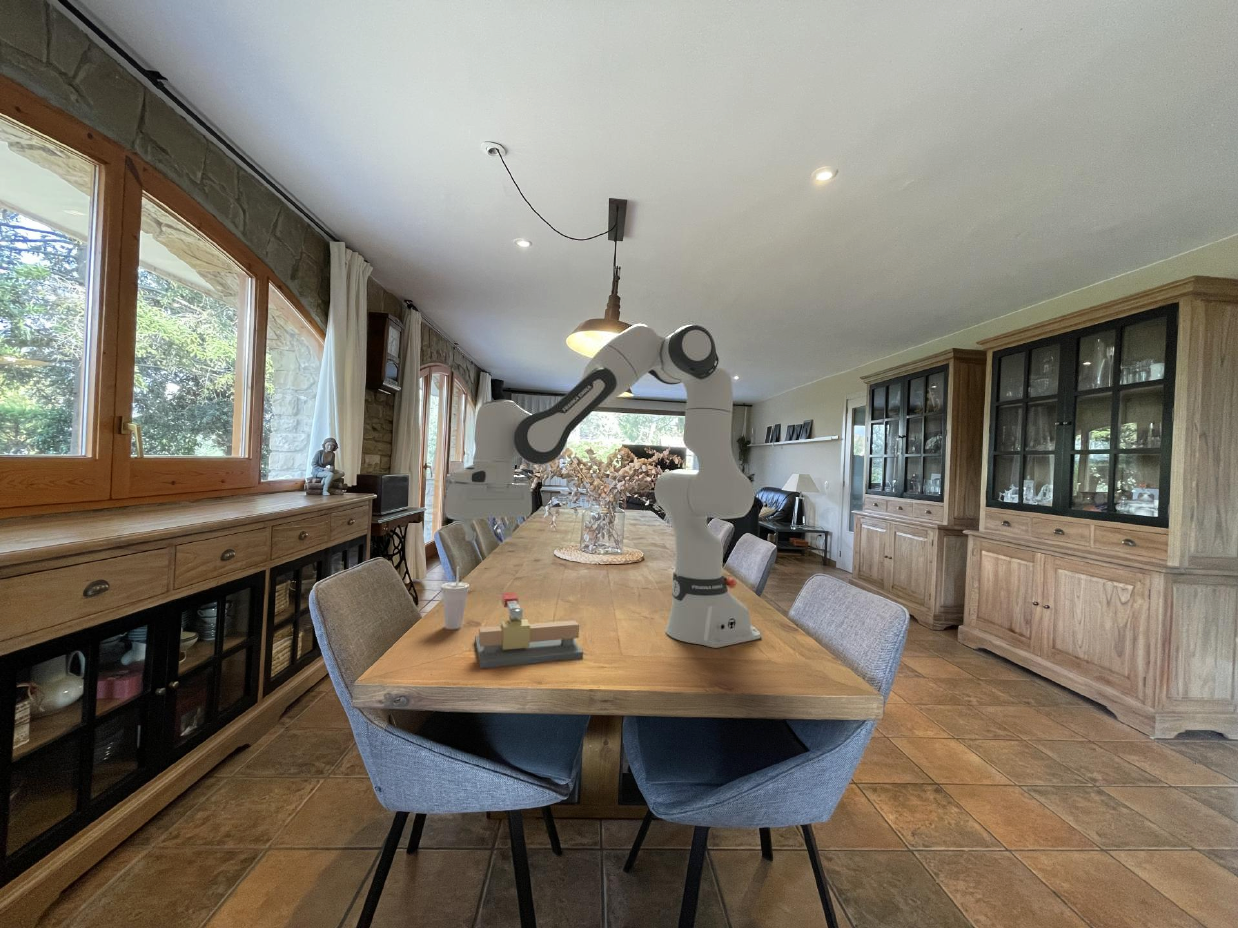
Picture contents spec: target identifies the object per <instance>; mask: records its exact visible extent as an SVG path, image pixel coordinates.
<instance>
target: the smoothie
mask: <svg viewBox="0 0 1238 928" xmlns="http://www.w3.org/2000/svg"><path fill="white" fill-rule="evenodd" d="M469 590H470V584H469V583H467V582H463V581H460V566H456V579H455V581H451V582H446V583H443V584H441V585H440V592H441V596H442V597H441V598H442V608H443V619H444V628H445V629H446V630H458V629H460V628H462V626H463V620H464V616H465V615H464V613H465V609H466V602H467V598H468V591H469Z"/></svg>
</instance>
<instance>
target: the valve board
mask: <svg viewBox="0 0 1238 928" xmlns="http://www.w3.org/2000/svg"><path fill="white" fill-rule="evenodd" d="M579 635H580V624H579V622H577V620H563V621H550V622H537V623H536V622H535V623H530V622H529V621H528V619H527V618H525V619H523V618H522V620H519V621H512V620H510V619H509V620H501V622H500V625H497V626H481V627H478V635H477V636H475V635H474V643H475V644H474V645H475V649H476V653H477V657H478V661H479V667H480V669H488V668H499V667H508V666H509V667H510V666H518V665H527V664H528V665H529V664H537V663H538V664H539V663H546V662H557V661H565V660H566V661H567V660H573V659H575V660H576V659H584V651H583V650H582V649H581V648H580V646H579V644H578V643H577V642H576V640H575V639H579V637H580V636H579Z"/></svg>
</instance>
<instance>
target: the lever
mask: <svg viewBox="0 0 1238 928" xmlns="http://www.w3.org/2000/svg"><path fill="white" fill-rule="evenodd" d="M500 601H501V604H502V606H503V607H504V609H505V608H507V610H508V612H509V616H508V617H509V618H508V619H509V620H512V621H519V620H523V615H524V614H523V613H524V610H523V608H521V607H520V605H519V597H518V596H517V594H516V593H515V592H514V591H513V592H501V599H500Z"/></svg>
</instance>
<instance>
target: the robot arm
mask: <svg viewBox="0 0 1238 928" xmlns="http://www.w3.org/2000/svg"><path fill="white" fill-rule="evenodd" d="M719 363H720V359H719V356H718V354H717V348H716V343H715V340H714V337H713V336H712V334H711V333H710V331H709V330H708V329H706V328H705V327H703V326H701V325H696V324H690V325H684V326H681V327H680V328H678V329H676V330H675V331H674V332H673V333H671V334H670V335H668V336H667V337H663V336H660V335H658V334H657V332H656V331H655V330H654V329H653V328H652V327H650V326H648V325H646V324H642V323H638V324H637V323H636V324H634V325H632V326H630V327H629V328H627V329H625V330H623V331H622V332H620V333H619V334H618V335H616V336H615V337H613V338H612V339H611V340H610V341H608V342H607V343H606V344H605V345H604V346H603V347H601V349H599V351H598V352H597V353H595V355H593V357H592V358H591V360H590V361H589V362H588V363H587V364H586V366H585V368H584V371H583V375H582V377H581V378H580V380H579V381H578V383H577V384H576V385H574V387H573V388H571V390H569V391H568V392H567V393H566V394H565V395H564V396H562V398H560V399H559V400H558V401H557V402H556V403H555V404H554V405H553V406H551V407H549V408H548V409H546V410H542V411H539V412H536V413H533V414H532V413H530V412H528V411H526V410H525V409H524V408H522V407H521V406H519V405H518V404H517V403H516V402H515V401H513V400H510V399H496V400H490V401H487V402H484V403H483V404H481V405H480V407H479V408H478V410H477V414H476V418H475V425H474V435H473V436H474V438H473V441H474V444H475V445H474V447H475V450H474V451H475V452H474V454H473V458H472V465H469V466H464V467H462V468H459V469H455V470H452V471H451V472H450V474H449V480H450V481H451V483H450V484H449V485H448V488H447V491H446V496H445V503H444V504H445V505H444V514H445V515H446V517H447V518H448V519H451V520H456V521H459V520H460V524H461V527H462V529H463V530H464V534H465V536H464V538H465V541H468V542H470V541H471V542H472V541H473V542H474V541H476V540H477V531H473V528H472V525H473V524H474V523H473V522H474V520H476V519H477V520H478V519H480V520H481V519H498V518H501V519H503V518H506V521H507V525H506V526H505V528H502V534H501V535H502V538H505V539H506V538H508V539H509V538H513V531H514V529H515V527H516V526H517V524H518V522H519V521H518V520H519V518H521V517H529V516H530V515H531V513H532V511H533V509H532V508H533V502H532V500H533V499H532V491H531V489H532V488H531V485H532V482H531V481H530V479H529V478H527V476H525V475H515V467H516V459H517V458H522V459H523V460H525V461H527V462H529V463H532V464H534V465H535V464H536V465H544V464H548V463H550V462H553V461H554V460H556V459H557V458H558V457H559V456H560V455H561V454H562V452H564V451H563V450H564V449H565V446H566V444H567V442H568V439H569V436H571V433H572V432H573V431H574V430H575V429H576V427H578V425H579V424H581V423H583V421H584V420H585V419H586V418H587V417H588V416H589V415H590V414H592V413H593V412H594V410H595V409H597V408H598V407H599V406H601V405H602V404H604V403H606V402H608V401H612V400H614V399H615V398H618V397H619V396H621V395H623V394H624V393H625V392H627V391H628V390H629V389H631V388H632V387H633V386H634V385H635V384H636V383H637V382H639V380H640V379H641V378H642V377H644V375H646V374H649V375H651V376H653V378H654V379H656V380H657V381H658V382H660V383H663V384H665V385H670V386H671V385H672V386H673V385H678V384H680V383H682V384H683V387H684V388H685V392H686V403H685V414H684V415H685V416H684V425H683V426H684V427H683V436H682V437H683V438H682V441H683V443H684V446H685V448H687V450H689V451H691V452H692V453H693V454H694V455H695V456H696V458H697V459H696V460H697V461H698V462H697V463H698V469H686V468H685V469H684V468H679V469H674V470H668V471H664V472H662V473H661V474H660V475H659V476H658V478H657V479H656V482H655V485H654V490H653V491H654V497H655V501H656V502H657V504H658V506H659V507H660V508H661V509H662V510H663V511H664V513H665V514H666V515H667V518H668V519H669V523H670V525H671V528H672V531H673V535H674V545H675V550H674V551H675V552H674V553H675V554H674V555H675V557H674V558H675V559H674V562H675V564H674V565H675V566H674V571H673V574H672V585H671V587H672V588H671V592H672V594H671V595H672V603H671V607H670V614H669V617H668V620H667V624H666V626H665V633H666V634H667V635H668V636H669V637H671V638H673V639H675V640H678V641H681V642H685V643H690V644H695V645H696V644H697V645H703V646H706V647H709V648H712V649H713V648H715V649H716V648H717V649H718V648H722V647H726V646H730V645H732V646H733V645H737V644H739V643H745V642H749V641H755V640H759V639H761V633H760V631H759V630H758V628H756V627H754V626H753V625H752V623H751V615H750V611H749V610H748V608H747V607H746V606H745V605H744V603H742V602H741V601H740V600H739V599H737V597H736V596H734V595H733V594H732V593H731V592H729V590H728V587H729V588H732V589H734V588H736V586H737V584H738V582H737V579H734V578H732V577H728V578H727V577H726V576H724V575H723V561H724V560H723V558H724V557H723V556H724V546H723V543H722V541H721V539H720V538H719V537H718V536H717V535H716V534H715V533H714V532H713V531H712V530H711V529H710V527H709V525H708V522H707V518H713V519H721V520H729V519H738V518H742V517H745V516H746V515H747V514H748V513H749V511H750V510H751V509H752V506H754V505H753V504H754V502H755V489H754V486H753V484H752V482H751V481H750V479H749V478H748V477H747V476H746V475H745V474H744V473H743V472H742V471H741V470H740V468H739V466H738V465H737V462H736V461H735V458H734V454H733V449H732V420H733V419H732V418H733V409H734V408H733V406H734V405H733V402H734V401H733V400H734V398H733V395H734V393H733V384H732V383H733V382H732V378H731V375H730V373H729V372H728V371H727V370H726V369H725V368H723V367H720V366H719Z"/></svg>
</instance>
